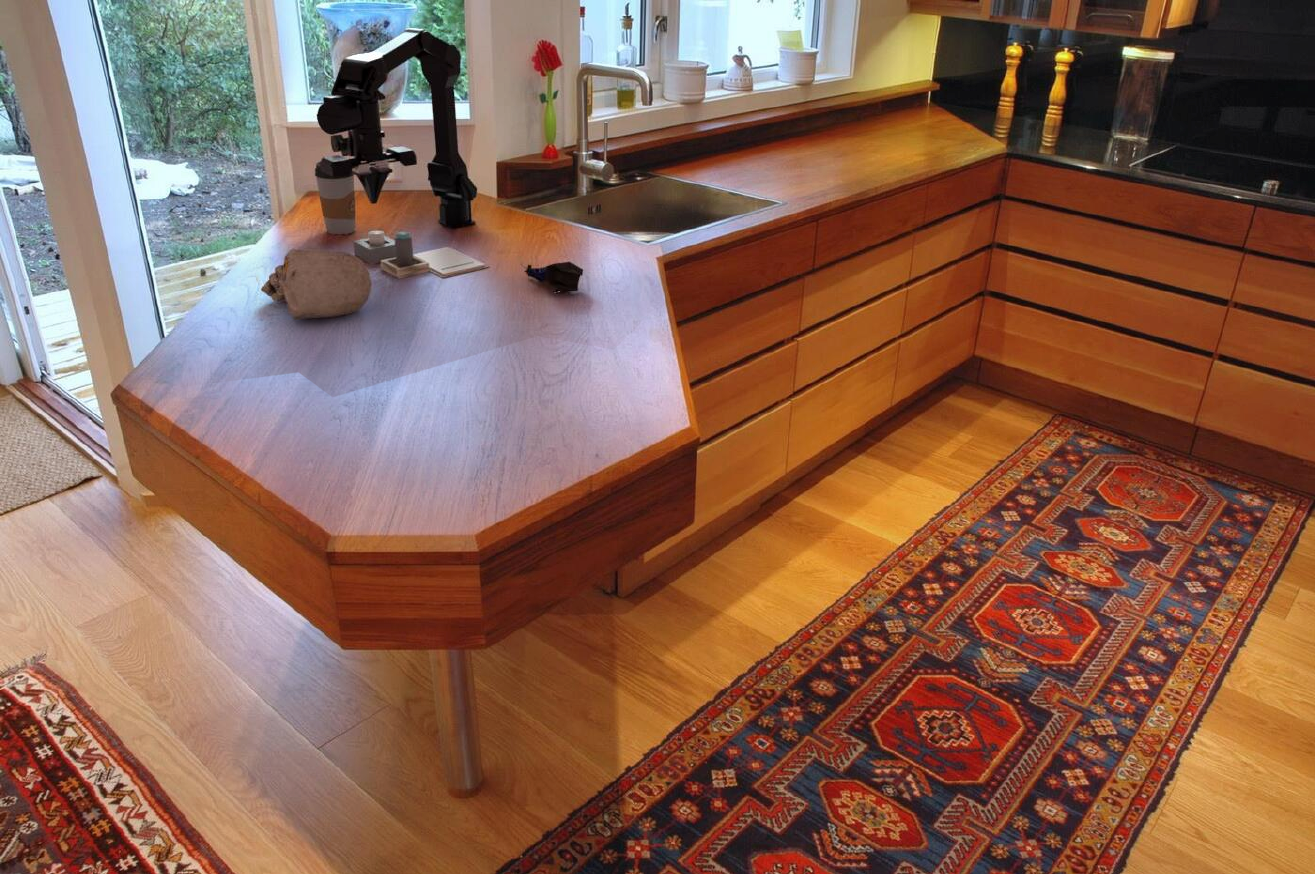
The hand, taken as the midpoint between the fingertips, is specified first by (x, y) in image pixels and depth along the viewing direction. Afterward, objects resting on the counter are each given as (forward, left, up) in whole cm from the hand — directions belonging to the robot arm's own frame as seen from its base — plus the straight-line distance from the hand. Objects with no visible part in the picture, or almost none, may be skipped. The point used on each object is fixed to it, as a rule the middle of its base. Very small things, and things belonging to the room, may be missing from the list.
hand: (373, 203), depth 207 cm
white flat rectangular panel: (-9, +12, -11) cm, 19 cm away
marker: (0, +11, -11) cm, 15 cm away
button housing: (0, 0, -11) cm, 11 cm away
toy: (-18, +36, -12) cm, 42 cm away
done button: (0, 0, -9) cm, 9 cm away
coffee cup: (-2, -20, -12) cm, 23 cm away
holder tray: (0, +11, -11) cm, 16 cm away
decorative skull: (+23, +20, -12) cm, 33 cm away
